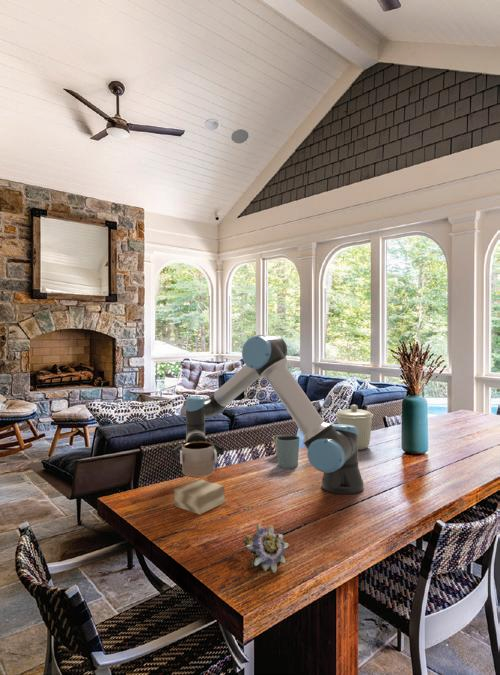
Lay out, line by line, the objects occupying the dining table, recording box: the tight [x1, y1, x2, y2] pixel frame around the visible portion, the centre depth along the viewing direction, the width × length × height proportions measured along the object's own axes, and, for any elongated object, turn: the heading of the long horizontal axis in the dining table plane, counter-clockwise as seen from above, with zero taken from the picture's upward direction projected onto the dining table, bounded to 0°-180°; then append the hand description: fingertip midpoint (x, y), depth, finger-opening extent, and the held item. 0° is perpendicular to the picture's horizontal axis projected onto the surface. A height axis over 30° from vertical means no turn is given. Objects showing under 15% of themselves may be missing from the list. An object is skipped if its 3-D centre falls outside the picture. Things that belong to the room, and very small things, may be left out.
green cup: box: [276, 434, 300, 469], centre depth 192 cm, size 10×10×12 cm
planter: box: [181, 441, 216, 479], centre depth 150 cm, size 11×11×10 cm
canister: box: [335, 404, 374, 451], centre depth 217 cm, size 18×18×21 cm
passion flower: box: [242, 523, 290, 574], centre depth 111 cm, size 11×11×12 cm
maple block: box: [173, 478, 226, 515], centre depth 151 cm, size 12×12×6 cm
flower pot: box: [272, 434, 283, 457], centre depth 206 cm, size 9×9×9 cm
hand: (198, 458), depth 146 cm, fingers closed on planter, 11 cm apart
